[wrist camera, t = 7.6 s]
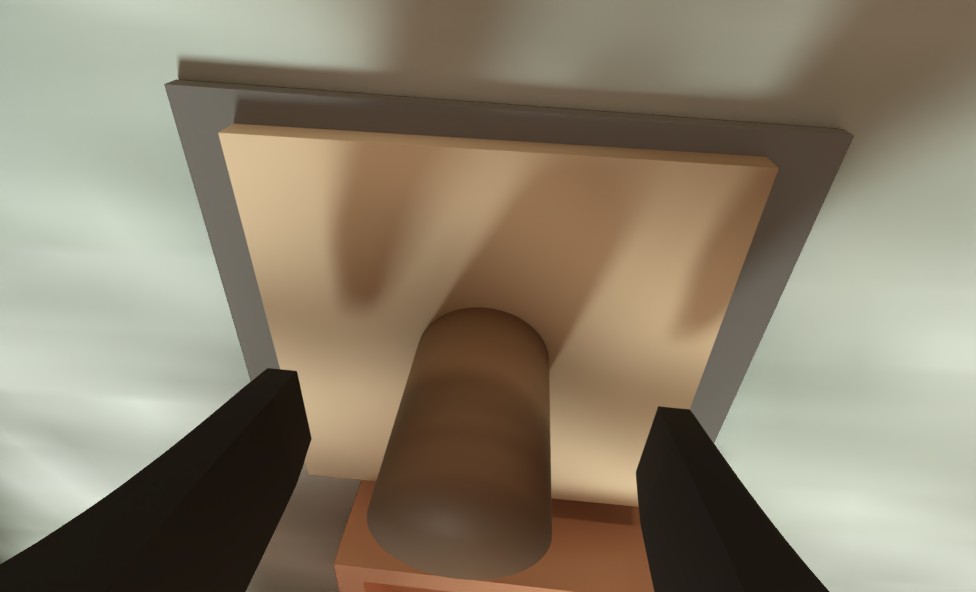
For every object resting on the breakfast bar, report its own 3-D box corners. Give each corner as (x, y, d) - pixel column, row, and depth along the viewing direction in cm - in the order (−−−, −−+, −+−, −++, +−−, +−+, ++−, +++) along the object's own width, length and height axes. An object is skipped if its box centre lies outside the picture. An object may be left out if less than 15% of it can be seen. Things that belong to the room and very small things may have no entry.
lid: (649, 490, 16) (688, 685, 12) (314, 458, 16) (237, 633, 12) (766, 156, 10) (929, 312, 6) (233, 123, 10) (28, 244, 6)
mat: (686, 485, 16) (689, 496, 16) (277, 442, 17) (271, 452, 16) (843, 129, 10) (853, 136, 9) (176, 80, 10) (164, 84, 10)
